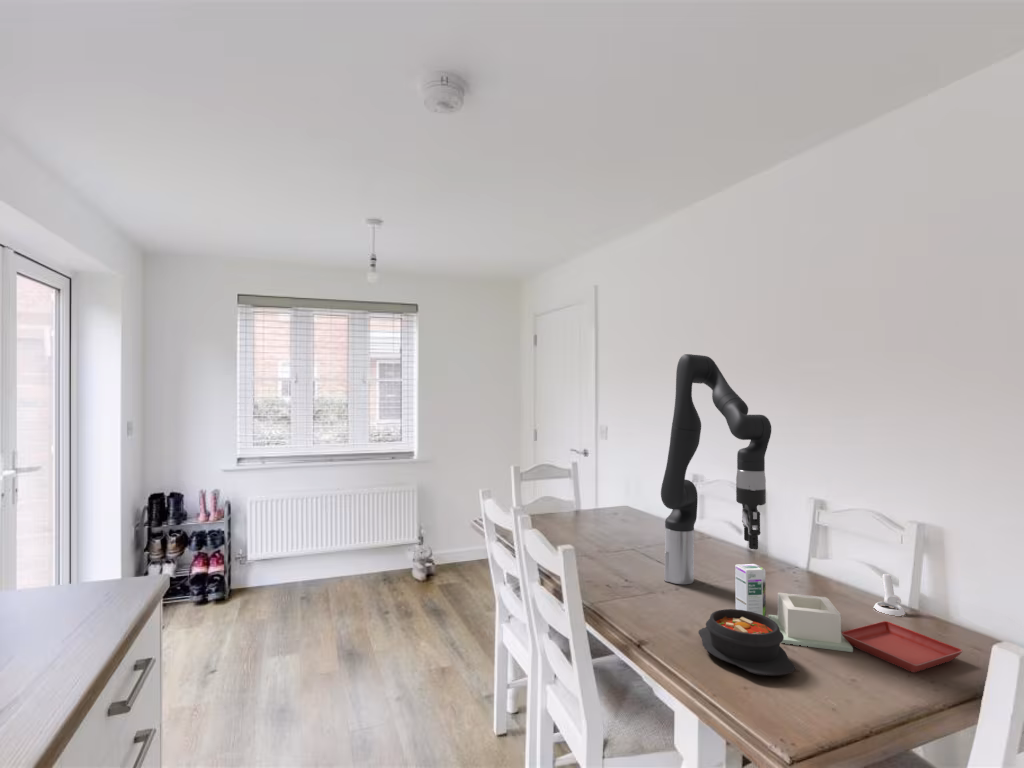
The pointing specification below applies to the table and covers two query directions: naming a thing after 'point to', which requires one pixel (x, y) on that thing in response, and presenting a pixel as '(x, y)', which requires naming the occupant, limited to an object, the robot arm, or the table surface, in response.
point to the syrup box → (750, 588)
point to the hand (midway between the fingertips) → (750, 544)
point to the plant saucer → (901, 646)
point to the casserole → (746, 642)
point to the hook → (889, 598)
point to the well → (810, 622)
